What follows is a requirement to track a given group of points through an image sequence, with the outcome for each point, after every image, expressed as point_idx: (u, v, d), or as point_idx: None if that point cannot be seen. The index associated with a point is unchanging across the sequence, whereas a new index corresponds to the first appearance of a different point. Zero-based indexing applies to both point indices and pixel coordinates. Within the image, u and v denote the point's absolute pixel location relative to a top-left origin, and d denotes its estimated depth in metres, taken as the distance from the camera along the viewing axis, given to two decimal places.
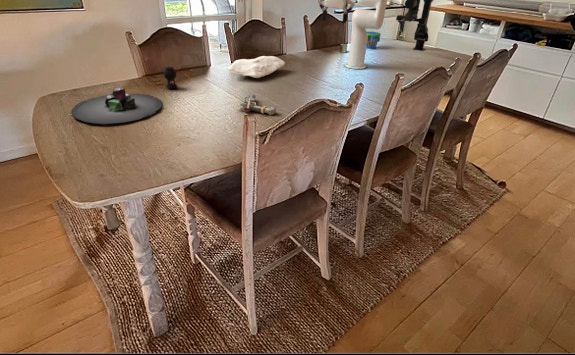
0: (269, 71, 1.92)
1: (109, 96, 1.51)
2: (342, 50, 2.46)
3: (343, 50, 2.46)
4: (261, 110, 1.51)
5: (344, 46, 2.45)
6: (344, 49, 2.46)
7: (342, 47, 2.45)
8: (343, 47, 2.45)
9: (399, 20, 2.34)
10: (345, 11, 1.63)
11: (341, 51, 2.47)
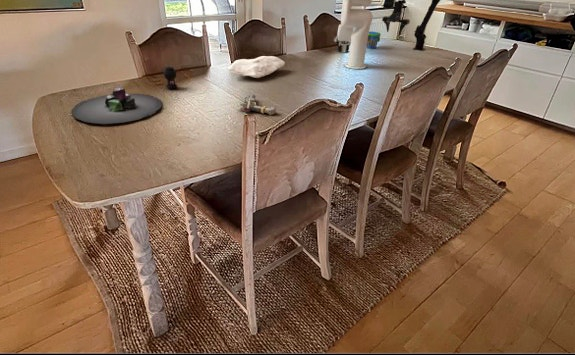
0: (269, 71, 1.92)
1: (109, 96, 1.51)
2: (342, 50, 2.46)
3: (343, 50, 2.46)
4: (261, 110, 1.51)
5: (344, 46, 2.45)
6: (344, 49, 2.46)
7: (342, 47, 2.45)
8: (343, 47, 2.45)
9: (385, 21, 2.63)
10: (348, 44, 2.45)
11: (341, 51, 2.47)
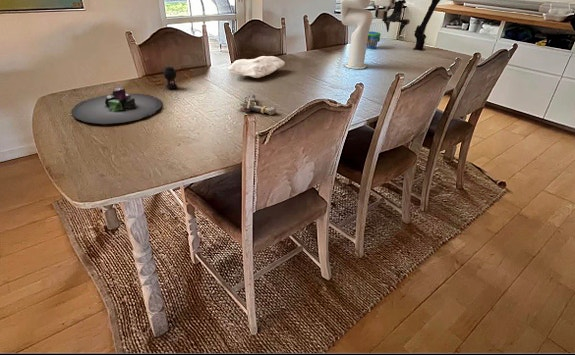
0: (269, 71, 1.92)
1: (109, 96, 1.51)
2: (378, 16, 2.32)
3: (379, 16, 2.32)
4: (261, 110, 1.51)
5: (380, 11, 2.30)
6: (380, 15, 2.31)
7: (378, 12, 2.31)
8: (380, 13, 2.31)
9: (385, 21, 2.63)
10: (386, 10, 2.29)
11: (377, 17, 2.33)
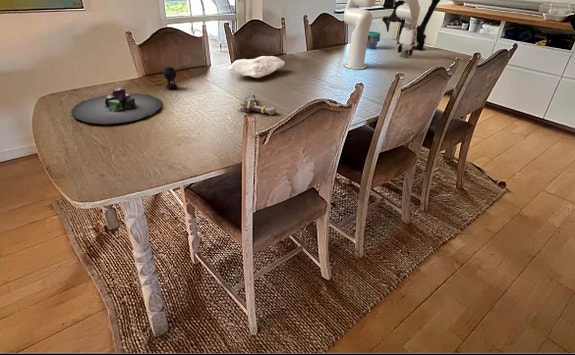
0: (269, 71, 1.92)
1: (109, 96, 1.51)
2: (401, 54, 2.43)
3: (401, 54, 2.42)
4: (261, 110, 1.51)
5: (403, 50, 2.40)
6: (402, 53, 2.41)
7: (401, 51, 2.42)
8: (402, 52, 2.41)
9: (385, 21, 2.63)
10: (410, 48, 2.36)
11: None
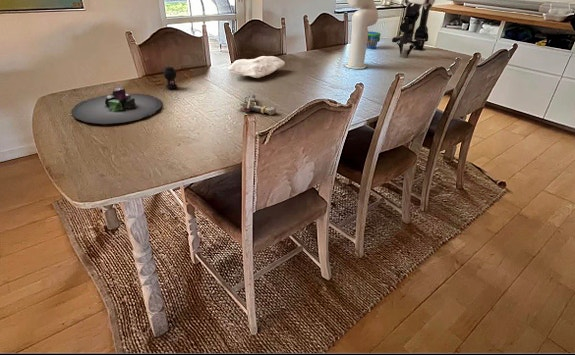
0: (269, 71, 1.92)
1: (109, 96, 1.51)
2: (401, 54, 2.43)
3: (401, 54, 2.42)
4: (261, 110, 1.51)
5: (403, 50, 2.40)
6: (402, 53, 2.41)
7: (401, 51, 2.42)
8: (402, 52, 2.41)
9: (395, 42, 2.40)
10: (425, 7, 1.78)
11: None
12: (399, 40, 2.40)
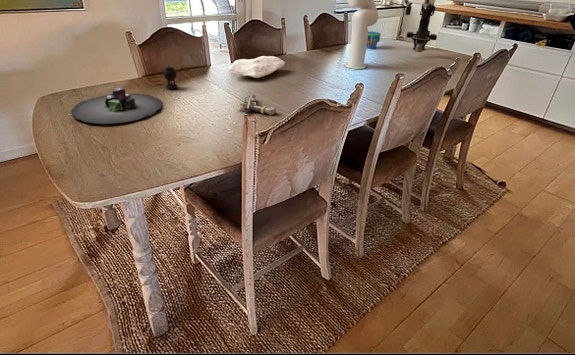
0: (269, 71, 1.92)
1: (109, 96, 1.51)
2: (415, 49, 2.40)
3: (417, 49, 2.40)
4: (261, 110, 1.51)
5: (418, 45, 2.38)
6: (418, 48, 2.39)
7: (416, 46, 2.39)
8: (417, 46, 2.39)
9: (410, 37, 2.37)
10: (425, 7, 1.78)
11: (415, 50, 2.41)
12: (414, 35, 2.36)
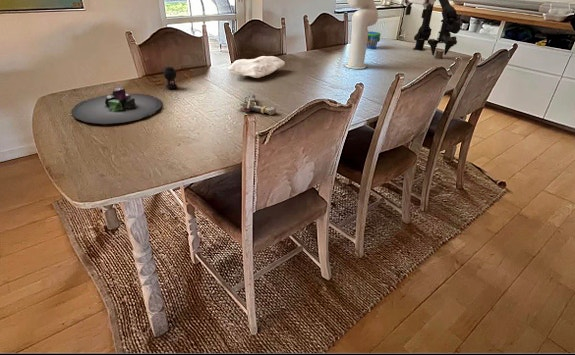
0: (269, 71, 1.92)
1: (109, 96, 1.51)
2: (438, 56, 2.42)
3: (439, 56, 2.42)
4: (261, 110, 1.51)
5: (440, 52, 2.40)
6: (440, 55, 2.41)
7: (438, 53, 2.41)
8: (440, 53, 2.41)
9: (435, 44, 2.35)
10: (425, 7, 1.78)
11: (437, 57, 2.42)
12: None
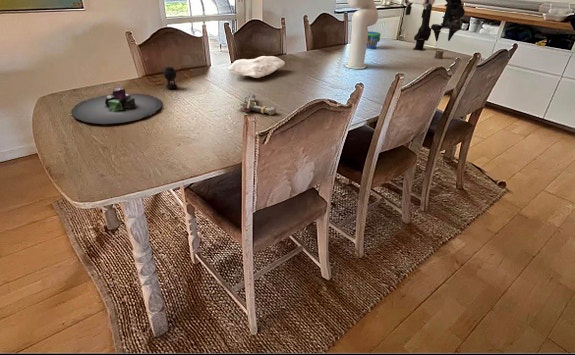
0: (269, 71, 1.92)
1: (109, 96, 1.51)
2: (438, 56, 2.42)
3: (439, 56, 2.42)
4: (261, 110, 1.51)
5: (440, 52, 2.40)
6: (440, 55, 2.41)
7: (438, 53, 2.41)
8: (440, 53, 2.41)
9: (439, 30, 2.30)
10: (425, 7, 1.78)
11: (437, 57, 2.42)
12: None
